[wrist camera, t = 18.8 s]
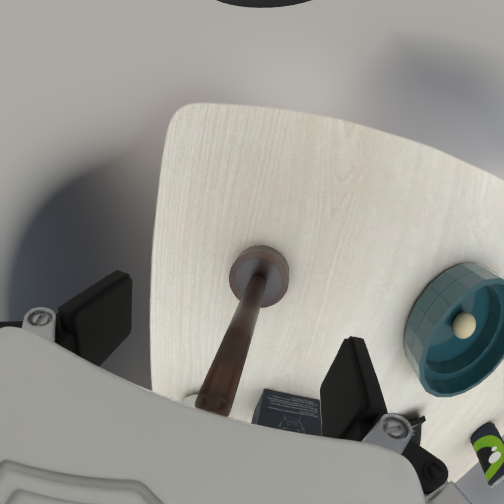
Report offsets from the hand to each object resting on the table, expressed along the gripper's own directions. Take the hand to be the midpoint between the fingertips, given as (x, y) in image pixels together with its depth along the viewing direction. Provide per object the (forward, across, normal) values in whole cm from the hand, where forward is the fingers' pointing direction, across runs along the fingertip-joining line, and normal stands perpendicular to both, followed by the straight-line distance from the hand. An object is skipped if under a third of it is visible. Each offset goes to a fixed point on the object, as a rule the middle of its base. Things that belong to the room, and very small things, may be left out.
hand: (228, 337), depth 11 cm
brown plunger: (+17, 0, +4) cm, 17 cm away
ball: (+15, -25, +3) cm, 29 cm away
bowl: (+17, -25, +4) cm, 31 cm away
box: (+17, -8, +22) cm, 28 cm away
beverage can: (+16, -54, +26) cm, 62 cm away
